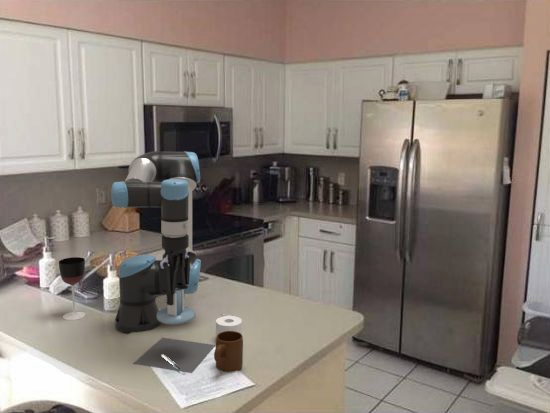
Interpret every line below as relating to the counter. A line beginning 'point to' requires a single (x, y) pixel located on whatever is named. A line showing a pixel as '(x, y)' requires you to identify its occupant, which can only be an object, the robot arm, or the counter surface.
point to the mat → (175, 354)
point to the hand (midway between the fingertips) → (175, 312)
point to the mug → (229, 351)
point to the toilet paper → (228, 324)
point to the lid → (181, 315)
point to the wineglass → (72, 280)
